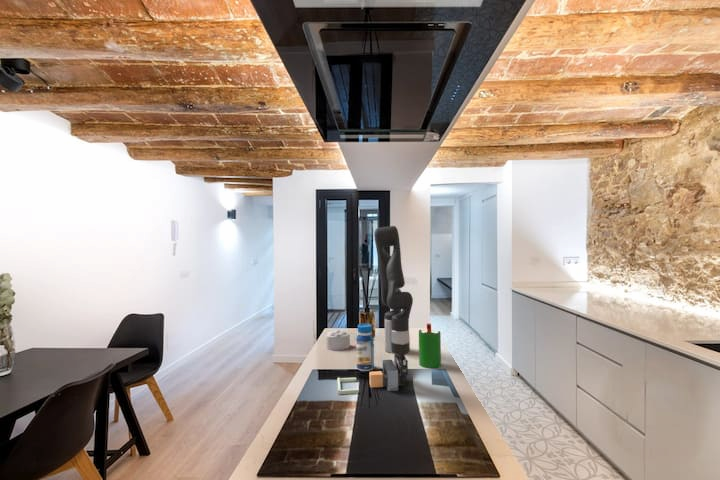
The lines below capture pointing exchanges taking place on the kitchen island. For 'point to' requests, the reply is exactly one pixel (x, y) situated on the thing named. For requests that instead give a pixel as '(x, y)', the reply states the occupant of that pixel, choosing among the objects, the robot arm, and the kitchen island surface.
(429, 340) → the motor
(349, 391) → the light grey u-shaped piece
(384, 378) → the plug
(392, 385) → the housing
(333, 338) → the lumpy-topped squat cylinder
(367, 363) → the beverage bottle
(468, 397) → the kitchen island surface
